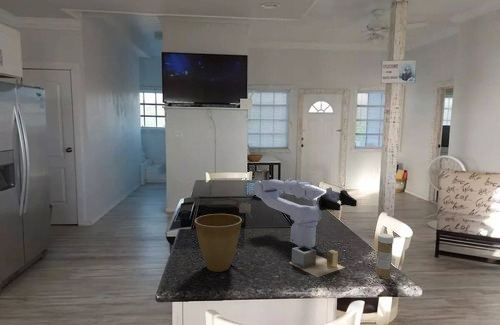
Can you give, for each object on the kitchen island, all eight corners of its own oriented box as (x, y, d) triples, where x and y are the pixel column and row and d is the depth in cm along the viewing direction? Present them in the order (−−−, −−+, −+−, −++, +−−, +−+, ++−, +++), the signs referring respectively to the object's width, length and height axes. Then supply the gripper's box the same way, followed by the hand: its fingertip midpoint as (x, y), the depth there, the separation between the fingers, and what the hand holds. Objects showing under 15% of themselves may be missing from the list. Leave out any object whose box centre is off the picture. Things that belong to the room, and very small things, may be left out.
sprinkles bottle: (378, 272, 113) (381, 231, 112) (392, 276, 110) (396, 235, 109) (372, 276, 110) (375, 235, 108) (387, 281, 107) (390, 238, 105)
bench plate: (288, 265, 117) (288, 262, 117) (315, 257, 124) (315, 254, 124) (317, 280, 106) (317, 277, 106) (345, 270, 114) (345, 267, 114)
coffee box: (261, 193, 232) (261, 169, 230) (269, 194, 228) (270, 170, 226) (253, 195, 224) (253, 170, 223) (261, 197, 221) (262, 171, 219)
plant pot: (237, 257, 122) (238, 212, 120) (243, 276, 108) (244, 225, 106) (194, 258, 120) (195, 213, 118) (194, 278, 105) (194, 226, 104)
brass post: (326, 268, 115) (327, 251, 114) (331, 267, 116) (332, 249, 115) (332, 271, 113) (333, 253, 112) (337, 269, 114) (338, 252, 114)
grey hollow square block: (291, 262, 116) (292, 248, 116) (303, 259, 120) (304, 245, 119) (303, 268, 112) (304, 253, 111) (315, 264, 115) (316, 250, 115)
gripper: (304, 187, 122) (332, 197, 111) (334, 181, 130) (363, 190, 119) (303, 206, 124) (331, 218, 112) (333, 200, 131) (362, 210, 120)
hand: (347, 205), depth 116 cm, fingers open, 7 cm apart
